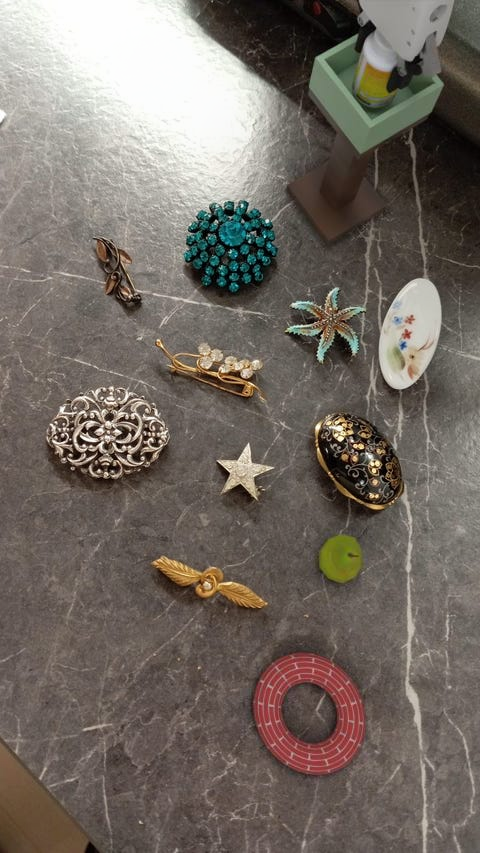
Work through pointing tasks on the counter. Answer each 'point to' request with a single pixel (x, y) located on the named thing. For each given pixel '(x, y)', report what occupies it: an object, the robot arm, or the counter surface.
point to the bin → (357, 119)
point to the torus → (279, 738)
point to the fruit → (341, 558)
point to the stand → (339, 186)
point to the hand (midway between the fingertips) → (381, 65)
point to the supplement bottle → (375, 71)
